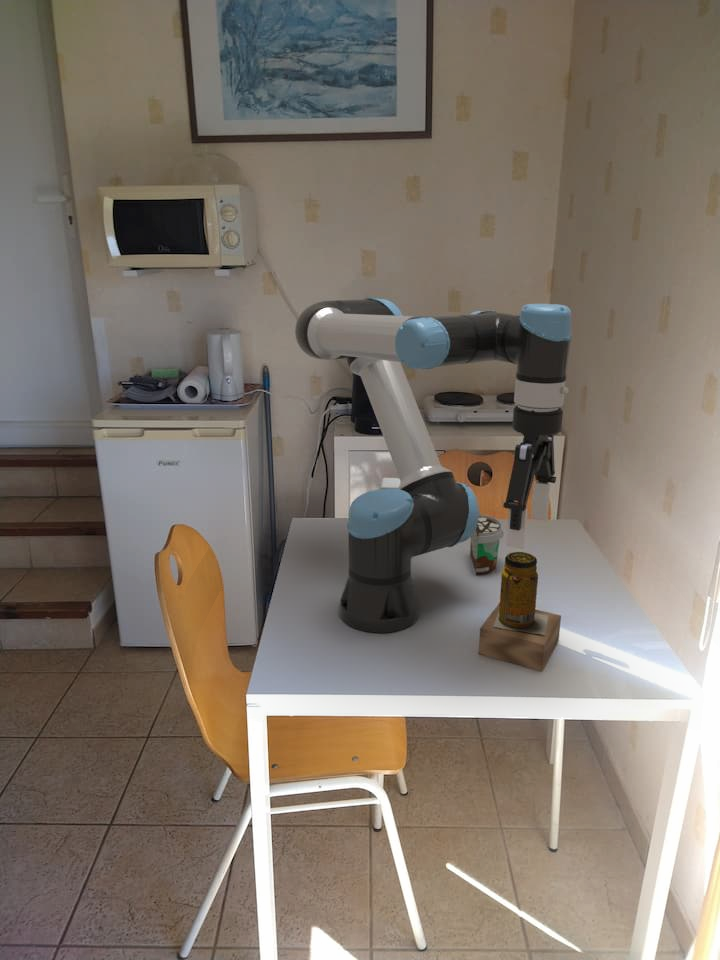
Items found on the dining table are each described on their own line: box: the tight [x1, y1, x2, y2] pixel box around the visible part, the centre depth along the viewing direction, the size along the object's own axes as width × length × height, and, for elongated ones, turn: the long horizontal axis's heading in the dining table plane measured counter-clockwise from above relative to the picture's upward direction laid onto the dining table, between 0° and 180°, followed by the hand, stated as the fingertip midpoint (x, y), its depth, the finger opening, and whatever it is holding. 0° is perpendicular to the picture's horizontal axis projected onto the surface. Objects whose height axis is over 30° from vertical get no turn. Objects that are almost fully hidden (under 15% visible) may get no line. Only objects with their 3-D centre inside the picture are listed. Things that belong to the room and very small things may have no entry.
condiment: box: [493, 551, 549, 635], centre depth 121 cm, size 7×8×12 cm
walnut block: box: [478, 602, 562, 672], centre depth 124 cm, size 11×11×5 cm
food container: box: [469, 513, 504, 576], centre depth 155 cm, size 12×6×10 cm, turn 179°
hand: (527, 532), depth 118 cm, fingers open, 13 cm apart
